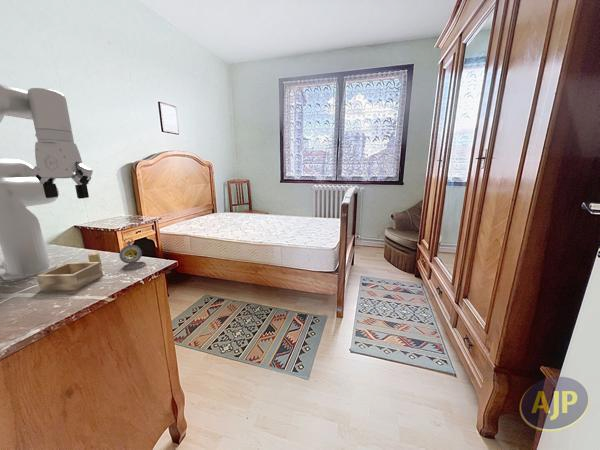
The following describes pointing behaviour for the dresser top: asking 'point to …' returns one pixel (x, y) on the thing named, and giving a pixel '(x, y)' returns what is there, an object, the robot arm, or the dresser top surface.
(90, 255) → the lid
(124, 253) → the pocket watch
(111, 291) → the dresser top surface
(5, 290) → the dresser top surface
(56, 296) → the dresser top surface
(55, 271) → the keepsake box
